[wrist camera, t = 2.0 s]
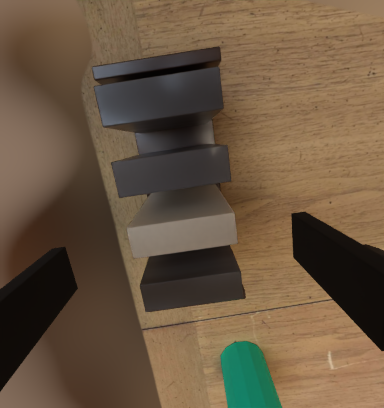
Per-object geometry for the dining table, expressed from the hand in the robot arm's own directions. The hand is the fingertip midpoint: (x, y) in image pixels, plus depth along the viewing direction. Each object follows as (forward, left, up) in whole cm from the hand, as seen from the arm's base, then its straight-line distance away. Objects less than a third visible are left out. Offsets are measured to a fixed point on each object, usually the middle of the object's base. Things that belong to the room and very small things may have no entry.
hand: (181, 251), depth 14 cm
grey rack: (-2, -1, -14) cm, 14 cm away
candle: (+20, +14, -14) cm, 28 cm away
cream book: (0, 0, -13) cm, 13 cm away
